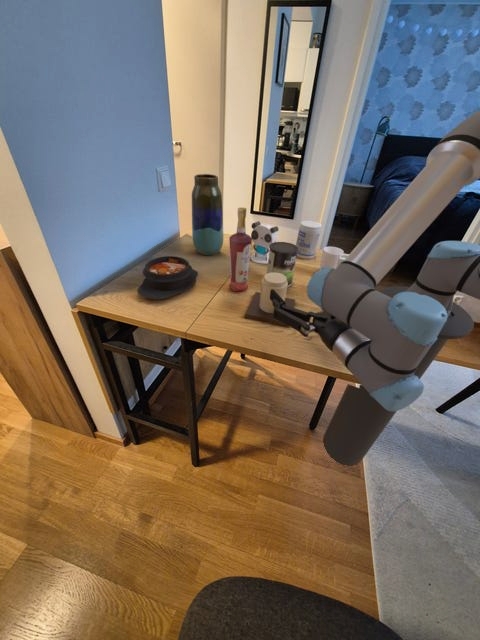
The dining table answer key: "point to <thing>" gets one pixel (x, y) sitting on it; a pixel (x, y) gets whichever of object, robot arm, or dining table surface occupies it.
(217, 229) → the vase
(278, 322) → the serving board
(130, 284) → the dining table surface
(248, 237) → the liquor
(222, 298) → the dining table surface
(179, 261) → the casserole
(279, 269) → the coffee can
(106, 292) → the dining table surface
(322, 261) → the white cup
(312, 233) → the supplement tub
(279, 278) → the jar
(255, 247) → the panda figurine
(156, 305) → the dining table surface
